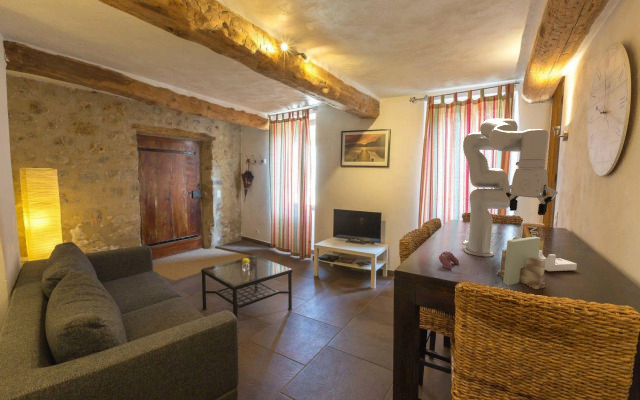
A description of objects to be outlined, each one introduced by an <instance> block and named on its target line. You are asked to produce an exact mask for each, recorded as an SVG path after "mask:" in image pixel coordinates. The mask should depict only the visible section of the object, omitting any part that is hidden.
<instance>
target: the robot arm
mask: <svg viewBox="0 0 640 400" xmlns="http://www.w3.org/2000/svg"><path fill="white" fill-rule="evenodd" d="M518 127H519V126H518V124H517V122H516V121H515V119H511V118H491V119H490V118H489V119H487V120H485V121H484V122H482V123H481V125H480V127H479V132H471V133H469V134H467V135H465V137H463V142H462V143H463V144H462V149H463V150H462V151H463V153H464V156H465V159H466V161H467V163H468V165H467V166H468V171H469V180H470V183H471V186H473V187H475V188H476V189H473V190H472V191H471V192H470V194H469V204H470V219H469V230H468V240H463V242H462V243H461V245H463V246H465V248H464V249H463V250H464V252H465V253H466V254H469V255H472V256H477V257H484V258H485V257H486V258H487V257H492V256H494V254H495V253H494V251H492V250H491V243H492V234H493V233H492V230H493V222H494V221H493V215H492V214H491V212H490V211H489V210H490V209H491V210H505V209H508V208H509V211H510V212H512V211H513V212H515V211H517V210H518V202H519V201H518V198H519V197H523V198H532V199H534V198H535V199H536V198H537V200H538V201H539V202H540V203H539V204H538V209H537V216H545V215H546V214H547V209H548V204H550V202H552V201H554V199H555V197H556V196H558V193H559V192H558V191H557V190H555V189H554V188H551V187H549V185H548V184H549V182H548V181H549V180H548V170H547V169H546V168H545V167H546V160H547V153H548V152H547V150H548V142H549V131H548V130H547V129H545V128H544V129H543V128H536V129H535V128H533V129H526V130H524V131H521V130H520V131H518ZM481 151H499V152H519V160H518V161H516V162H515V166H518V168H516V169H515V170H514V174H513V177H512V181H511V185H510V181H509V176H508V174H507V172H506V171H505V170H504V169H502V168H493V167H492V168H491V167H489V163H488V162H489V161H488V159H487V157H486V156H485V155H484V153H482V152H481ZM547 193H549V195H548V196H547Z"/></svg>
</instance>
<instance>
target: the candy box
mask: <svg viewBox="0 0 640 400" xmlns="http://www.w3.org/2000/svg"><path fill="white" fill-rule="evenodd" d="M520 224H521V225H520V234H519V237H521V238H528V237H540V238H541V239H540V248H539V250H542V253H544V252H543V251H544V242H545V236H546V235H545V233H546V225H545V224H544V223H539V222H538V223H537V222H536V223H535V222H523V221H522V222H521V223H520Z"/></svg>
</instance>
